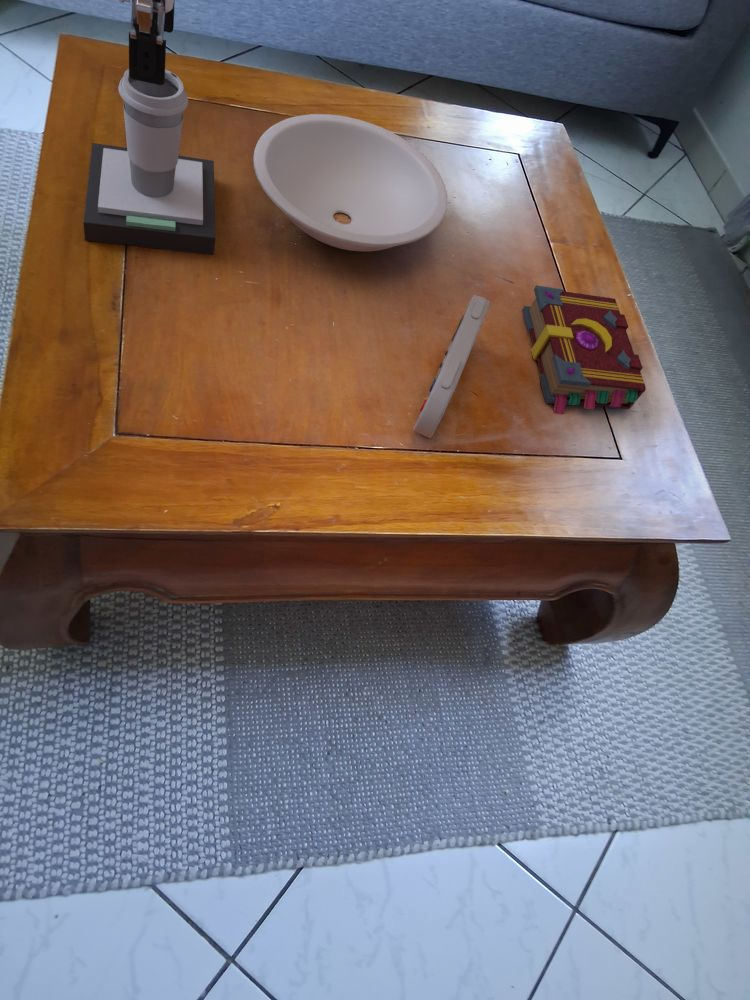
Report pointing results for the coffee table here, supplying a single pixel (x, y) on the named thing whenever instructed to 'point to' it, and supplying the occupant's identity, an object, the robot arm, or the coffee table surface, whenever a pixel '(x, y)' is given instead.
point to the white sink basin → (350, 181)
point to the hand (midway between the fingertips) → (152, 53)
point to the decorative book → (582, 350)
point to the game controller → (451, 367)
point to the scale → (149, 205)
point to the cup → (153, 131)
